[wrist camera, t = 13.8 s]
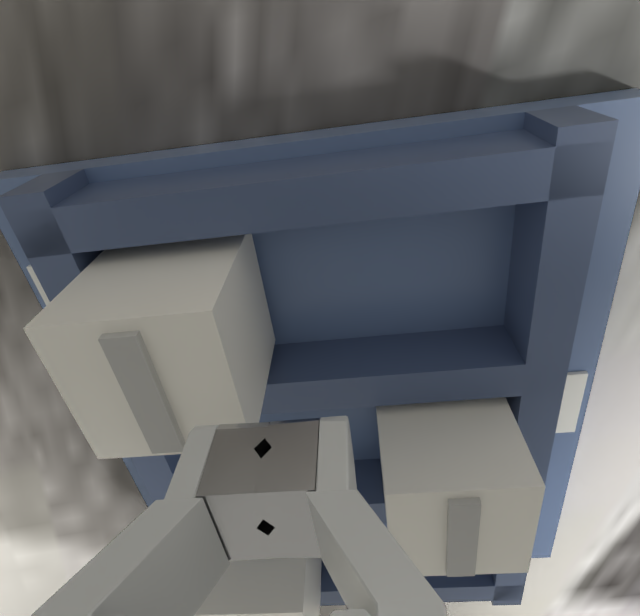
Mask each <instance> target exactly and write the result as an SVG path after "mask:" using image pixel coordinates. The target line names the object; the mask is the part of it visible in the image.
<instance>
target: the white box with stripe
mask: <svg viewBox="0 0 640 616" xmlns="http://www.w3.org/2000/svg"><path fill="white" fill-rule="evenodd" d="M229 562H230V565H229V566H228V568H227V569H226V571H225V572H224V574H223V575H222V576H221V578H220V579H219V581H218V582H217V584H216V585H215V586H214V588H213V589H212V591H211V592H210V594H209V595H208V596H207V598H206V599H205V601H204V602H203V604H202V605H201V606H200V608H199V609H198V611H197V612H196V614H195V615H194V616H320V600H321V567H322V558H268V559H254V560H239V561H229Z"/></svg>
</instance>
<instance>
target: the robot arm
mask: <svg viewBox="0 0 640 616" xmlns="http://www.w3.org/2000/svg"><path fill="white" fill-rule="evenodd" d="M268 558H322V561H323V563H324V565H325V567H326V569H327V571H328V572H329V574H330V576H331V578H332V580H333V582H334V584H335V586H336V588H337V589H338V591H339V593H340V595H341V597H342V599H343V601H344V603H345V605H346V606H347V608H348V609H347V610H334V611H333V612H332V613H331V614H330V615H329V616H447V610H446V605H445V603H444V602H443V601H442V600H441V598H440V597H439V596H438V594H437V593H436V592H435V590H434V589H433V588H432V586H431V585H430V584H429V583H428V581H427V580H426V579H425V577H424V576H423V575H422V573H421V572H420V571H419V569H418V568H417V567H416V566H415V564H414V563H413V562H412V560H411V559H410V558H409V556H408V555H407V554H406V553H405V551H404V550H403V549H402V547H401V546H400V545H399V543H398V542H397V541H396V539H395V538H394V537H393V536H392V534H391V533H390V532H389V530H388V529H387V528H386V526H385V525H384V524H383V522H382V521H381V520H380V519H379V517H378V516H377V515H376V513H375V512H374V511H373V509H372V508H371V507H370V506H369V504H368V503H367V502H366V500H365V499H364V498H363V496H362V495H361V494H360V492H359V491H358V490H357V484H356V474H355V464H354V455H353V447H352V440H351V432H350V425H349V419H348V416H346V415H345V416H333V417H321V418H310V419H297V420H284V421H272V422H260V423H238V424H220V425H205V426H195V427H194V428H193V429H192V430H191V431H190V432H189V435H188V437H187V440H186V443H185V445H184V448H183V451H182V453H181V456H180V458H179V461H178V464H177V466H176V469H175V472H174V474H173V477H172V479H171V482H170V485H169V487H168V490H167V493H166V495H165V498H164V499H163V500H156V501H154V502H153V503H152V504H151V505H150V506H149V507H148V508H147V509H146V510H145V511H144V512H143V513H141V514H140V515H139V516H138V517H137V518H136V519H135V520H134V521H133V522H132V523H131V524H130V525H128V526H127V527H126V528H125V529H124V530H123V531H122V532H121V533H120V534H119V535H118V536H117V537H115V538H114V539H113V540H112V541H111V542H110V543H109V544H108V545H107V546H106V547H105V548H104V549H102V550H101V551H100V552H99V553H98V554H97V555H96V556H95V557H94V558H93V559H92V560H91V561H89V562H88V563H87V564H86V565H85V566H84V567H83V568H82V569H81V570H80V571H79V572H78V573H77V574H75V575H74V576H73V577H72V578H71V579H70V580H69V581H68V582H67V583H66V584H65V585H64V586H62V587H61V588H60V589H59V590H58V591H57V592H56V593H55V594H54V595H53V596H52V597H51V598H49V599H48V600H47V601H46V602H45V603H44V604H43V605H42V606H41V607H40V608H39V609H38V610H36V611H35V612H34V613H33V614H32V616H194V615H195V614H196V612H197V611H198V609H199V608H200V606H201V605H202V604H203V602H204V601H205V599H206V598H207V596H208V595H209V594H210V592H211V591H212V589H213V588H214V586H215V585H216V584H217V582H218V581H219V579H220V578H221V576H222V575H223V574H224V572H225V571H226V569H227V568H228V566H229V565H230V562H229V561H239V560H254V559H268Z"/></svg>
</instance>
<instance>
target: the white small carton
mask: <svg viewBox="0 0 640 616" xmlns="http://www.w3.org/2000/svg"><path fill="white" fill-rule="evenodd" d="M376 414H377V425H378V437H379V448H380V459H381V469H382V480H383V490H384V500H385V510H386V520H387V529H388V530H389V532H390V533H391V534H392V536H393V537H394V538H395V539H396V541H397V542H398V543H399V545H400V546H401V547H402V549H403V550H404V551H405V553H406V554H407V555H408V556H409V558H410V559H411V560H412V562H413V563H414V564H415V566H416V567H417V568H418V569H419V571H420V572H421V573H422V575H423V576H446V575H447V577H464V576H475V574H505V573H528V570H529V566H530V561H531V556H532V551H533V546H534V541H535V536H536V531H537V526H538V521H539V517H540V512H541V507H542V502H543V497H544V492H545V487H546V486H545V484H544V482H543V479H542V477H541V475H540V473H539V471H538V468H537V466H536V464H535V462H534V459H533V457H532V455H531V453H530V451H529V448H528V446H527V444H526V442H525V439H524V437H523V435H522V433H521V431H520V428H519V426H518V424H517V422H516V419H515V417H514V415H513V413H512V411H511V408H510V406H509V404H508V402H507V399H506V397H501V398H487V399H473V400H459V401H445V402H431V403H416V404H402V405H388V406H376Z"/></svg>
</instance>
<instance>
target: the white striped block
mask: <svg viewBox="0 0 640 616" xmlns="http://www.w3.org/2000/svg"><path fill="white" fill-rule="evenodd" d="M23 330H24V332H25V333H26V335H27V337H28V338H29V340H30V342H31V344H32V345H33V347H34V349H35V351H36V352H37V354H38V356H39V358H40V359H41V361H42V363H43V365H44V366H45V368H46V370H47V372H48V373H49V375H50V377H51V379H52V380H53V382H54V384H55V386H56V387H57V389H58V391H59V392H60V394H61V396H62V398H63V399H64V401H65V403H66V405H67V406H68V408H69V410H70V412H71V413H72V415H73V417H74V419H75V420H76V422H77V424H78V426H79V427H80V429H81V431H82V433H83V434H84V436H85V438H86V440H87V441H88V443H89V445H90V447H91V448H92V450H93V452H94V453H95V455H96V457H97V459H111V458H127V457H143V456H159V455H175V454H181V453H182V451H183V448H184V445H185V443H186V440H187V437H188V435H189V432H190V431H191V430H192V429H193V428H194V427H195V426H205V425H220V424H238V423H259V421H260V416H261V410H262V405H263V400H264V395H265V390H266V385H267V380H268V375H269V370H270V365H271V360H272V355H273V350H274V345H275V336H274V331H273V327H272V322H271V318H270V313H269V309H268V304H267V300H266V295H265V291H264V287H263V282H262V278H261V273H260V269H259V264H258V260H257V255H256V251H255V246H254V242H253V237H252V234H245V235H235V236H226V237H217V238H208V239H199V240H190V241H181V242H172V243H163V244H154V245H145V246H136V247H127V248H118V249H108V250H104V251H103V252H102V253H101V254H100V255H99V256H97V257H96V258H95V259H94V260H93V261H92V262H91V263H90V264H89V265H88V266H87V267H86V268H85V269H84V270H83V271H82V272H81V273H80V274H79V275H78V276H77V277H76V278H75V279H74V280H73V281H72V282H71V283H69V284H68V285H67V286H66V287H65V288H64V289H63V290H62V291H61V292H60V293H59V294H58V295H57V296H56V297H55V298H54V299H53V300H52V301H51V302H50V303H49V304H48V305H47V306H46V307H45V308H44V309H43V310H41V311H40V312H39V313H38V314H37V315H36V316H35V317H34V318H33V319H32V320H31V321H30V322H29V323H28V324H27V325H26V326H25V327H24V328H23Z"/></svg>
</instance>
